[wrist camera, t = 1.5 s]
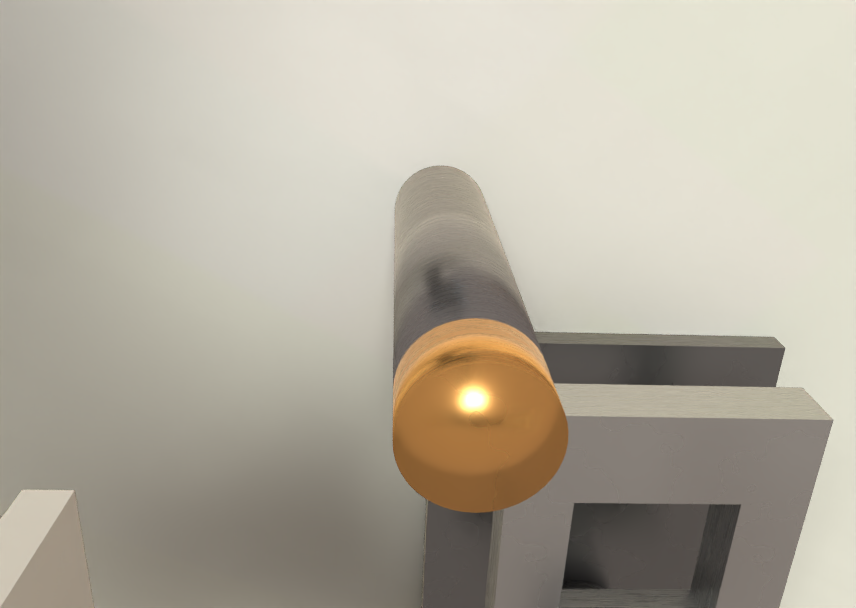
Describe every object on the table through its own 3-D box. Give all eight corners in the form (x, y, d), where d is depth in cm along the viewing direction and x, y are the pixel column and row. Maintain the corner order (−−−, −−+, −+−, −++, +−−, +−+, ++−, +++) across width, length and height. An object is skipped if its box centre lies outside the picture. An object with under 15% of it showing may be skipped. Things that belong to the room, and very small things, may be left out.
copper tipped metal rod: (395, 163, 28) (394, 361, 14) (488, 166, 28) (578, 365, 14) (393, 251, 30) (390, 512, 15) (481, 254, 30) (558, 513, 16)
